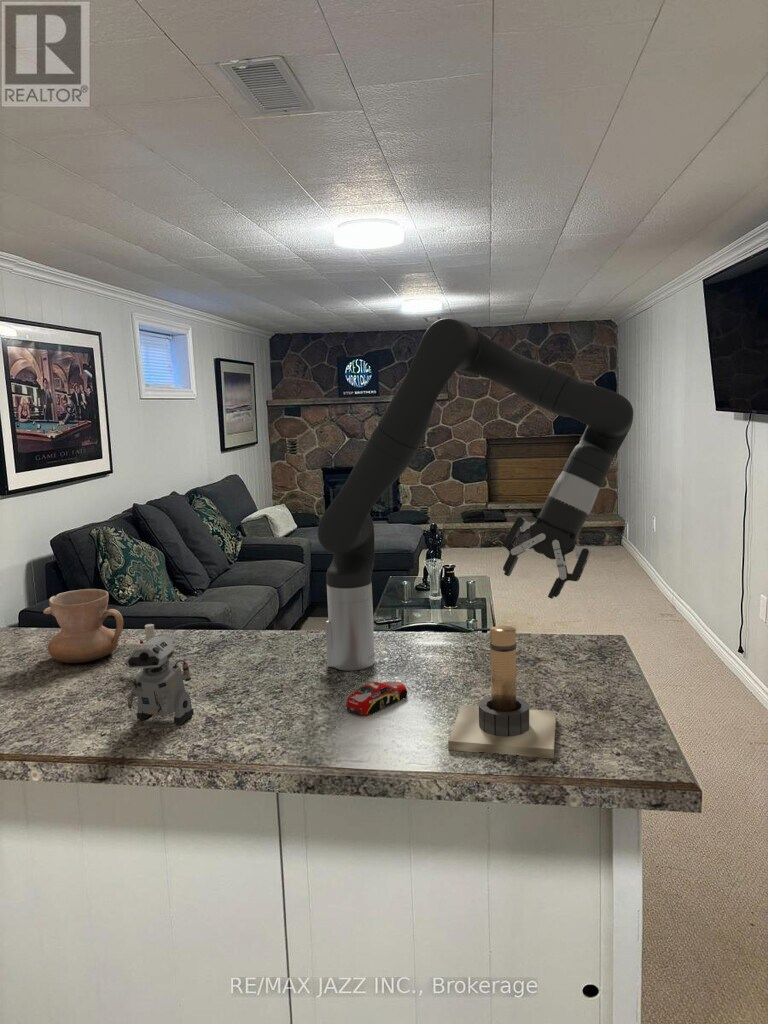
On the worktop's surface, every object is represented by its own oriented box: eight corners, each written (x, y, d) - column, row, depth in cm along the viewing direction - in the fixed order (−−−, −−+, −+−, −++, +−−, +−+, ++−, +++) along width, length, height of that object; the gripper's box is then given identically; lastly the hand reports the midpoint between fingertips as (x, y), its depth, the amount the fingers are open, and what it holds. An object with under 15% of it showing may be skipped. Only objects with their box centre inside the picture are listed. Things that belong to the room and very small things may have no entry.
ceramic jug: (29, 667, 162) (23, 603, 160) (68, 645, 176) (62, 586, 174) (107, 671, 159) (102, 606, 157) (140, 648, 173) (135, 588, 171)
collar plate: (448, 750, 117) (447, 719, 117) (461, 713, 131) (461, 685, 130) (553, 758, 113) (553, 727, 113) (556, 719, 127) (556, 691, 126)
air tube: (489, 729, 121) (488, 633, 118) (492, 718, 125) (490, 625, 122) (516, 731, 119) (515, 634, 117) (518, 720, 124) (517, 626, 121)
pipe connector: (117, 677, 154) (113, 630, 153) (149, 661, 163) (145, 616, 162) (157, 682, 150) (153, 634, 149) (187, 666, 160) (184, 620, 158)
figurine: (115, 735, 127) (107, 649, 125) (156, 708, 138) (150, 629, 136) (161, 741, 124) (153, 654, 122) (199, 713, 135) (193, 632, 133)
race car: (391, 690, 143) (391, 670, 143) (413, 697, 140) (412, 676, 139) (341, 712, 134) (340, 690, 133) (362, 720, 130) (361, 698, 130)
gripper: (528, 483, 130) (487, 567, 132) (605, 518, 125) (562, 606, 126) (536, 488, 137) (497, 568, 138) (609, 522, 132) (568, 605, 133)
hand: (528, 586), depth 132 cm, fingers open, 8 cm apart
